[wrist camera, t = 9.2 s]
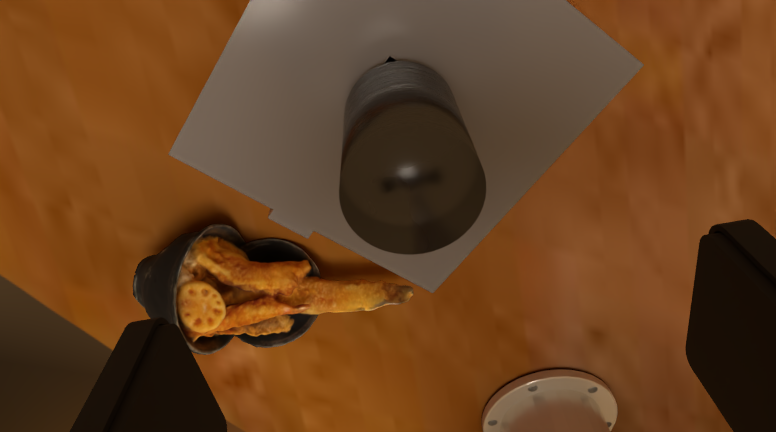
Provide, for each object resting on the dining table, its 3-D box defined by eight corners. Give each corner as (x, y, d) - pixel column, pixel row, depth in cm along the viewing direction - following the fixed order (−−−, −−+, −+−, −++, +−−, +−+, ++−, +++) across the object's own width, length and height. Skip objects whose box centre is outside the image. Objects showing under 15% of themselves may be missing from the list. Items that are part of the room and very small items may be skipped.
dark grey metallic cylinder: (404, 125, 31) (441, 349, 16) (281, 47, 28) (200, 232, 14) (493, 5, 27) (635, 155, 13) (364, -95, 25) (369, -41, 11)
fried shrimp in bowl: (92, 233, 35) (361, 252, 29) (201, 205, 45) (416, 216, 40) (107, 370, 37) (364, 412, 31) (209, 313, 47) (416, 337, 41)
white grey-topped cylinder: (382, 155, 38) (395, 333, 24) (232, 64, 34) (139, 209, 20) (517, -25, 32) (643, 64, 18) (354, -158, 28) (346, -181, 14)
